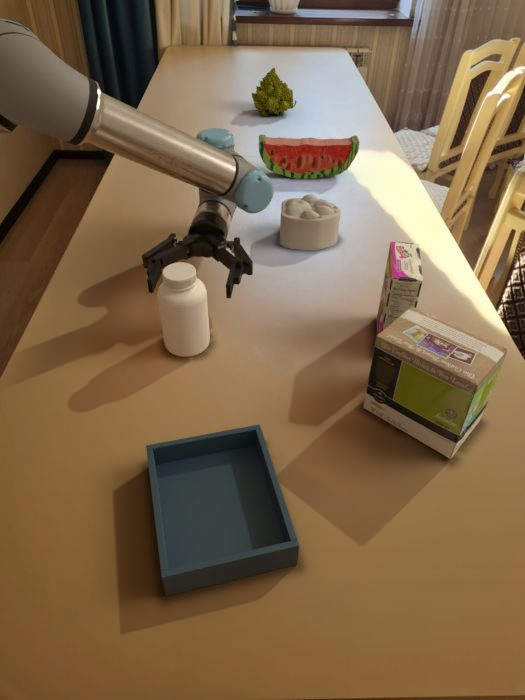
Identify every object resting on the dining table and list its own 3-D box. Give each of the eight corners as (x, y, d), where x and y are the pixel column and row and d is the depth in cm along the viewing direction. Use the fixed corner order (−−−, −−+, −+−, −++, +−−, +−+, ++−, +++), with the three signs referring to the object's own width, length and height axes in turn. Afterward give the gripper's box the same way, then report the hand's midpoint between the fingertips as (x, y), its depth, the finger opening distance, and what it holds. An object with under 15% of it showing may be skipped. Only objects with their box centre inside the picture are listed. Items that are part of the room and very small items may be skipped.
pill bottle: (157, 354, 92) (145, 280, 82) (174, 325, 98) (165, 253, 88) (201, 362, 91) (195, 288, 81) (216, 332, 97) (211, 260, 87)
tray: (150, 465, 75) (145, 445, 72) (259, 444, 78) (259, 424, 75) (165, 596, 61) (161, 577, 58) (297, 564, 64) (299, 545, 61)
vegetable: (272, 89, 194) (281, 56, 180) (296, 122, 192) (306, 92, 178) (237, 103, 190) (244, 71, 176) (261, 138, 188) (270, 108, 173)
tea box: (480, 421, 82) (511, 348, 72) (449, 462, 76) (478, 387, 66) (394, 375, 89) (412, 302, 79) (360, 408, 83) (374, 334, 74)
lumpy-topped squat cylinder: (280, 225, 126) (282, 190, 121) (336, 228, 126) (340, 193, 120) (279, 248, 119) (280, 212, 113) (338, 251, 118) (342, 215, 112)
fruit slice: (258, 179, 146) (259, 142, 139) (258, 169, 150) (258, 133, 144) (355, 180, 146) (360, 142, 140) (352, 170, 151) (356, 134, 144)
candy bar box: (374, 317, 101) (389, 239, 90) (402, 320, 100) (420, 242, 89) (374, 357, 92) (391, 276, 81) (404, 361, 92) (425, 280, 81)
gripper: (271, 248, 110) (261, 311, 94) (151, 241, 111) (121, 301, 96) (272, 215, 105) (261, 275, 89) (146, 207, 107) (113, 265, 91)
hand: (188, 289), depth 92 cm, fingers open, 13 cm apart
